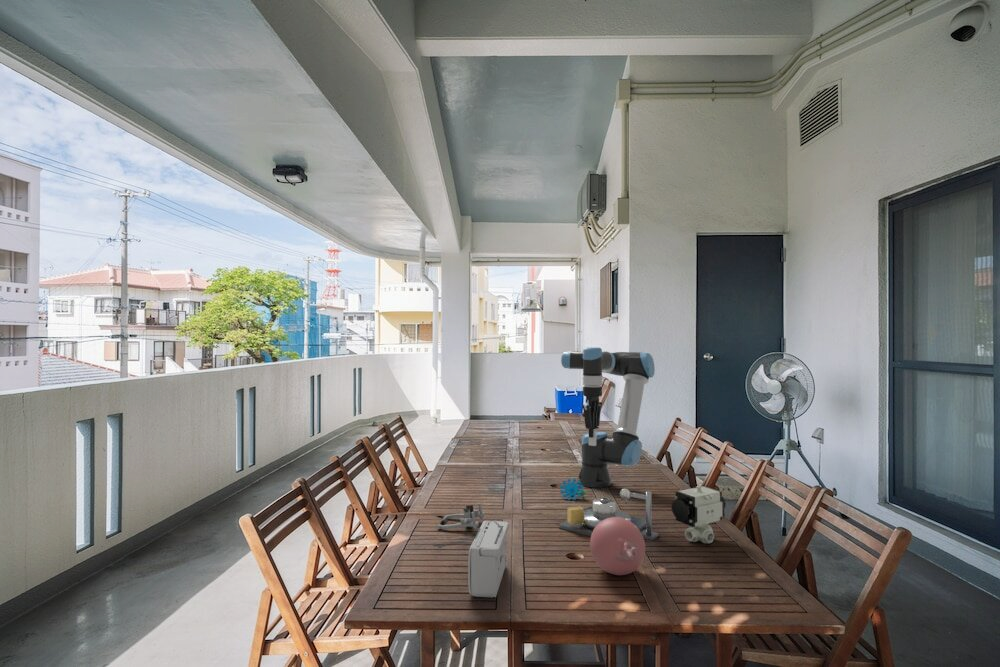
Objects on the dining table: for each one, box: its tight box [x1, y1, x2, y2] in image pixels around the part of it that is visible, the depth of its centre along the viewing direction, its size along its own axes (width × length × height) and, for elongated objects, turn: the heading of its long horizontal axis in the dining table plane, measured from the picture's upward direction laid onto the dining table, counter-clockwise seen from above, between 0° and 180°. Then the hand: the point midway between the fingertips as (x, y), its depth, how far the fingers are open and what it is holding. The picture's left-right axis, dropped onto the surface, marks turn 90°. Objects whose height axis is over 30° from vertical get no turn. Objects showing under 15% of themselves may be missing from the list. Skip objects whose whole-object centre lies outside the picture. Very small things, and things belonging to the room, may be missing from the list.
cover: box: [592, 497, 617, 520], centre depth 181 cm, size 8×8×6 cm
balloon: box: [589, 517, 646, 576], centre depth 143 cm, size 15×20×15 cm
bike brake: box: [437, 502, 485, 530], centre depth 182 cm, size 14×7×20 cm
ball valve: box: [671, 485, 726, 544], centre depth 168 cm, size 18×8×18 cm, turn 117°
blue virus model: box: [559, 477, 587, 501], centre depth 214 cm, size 11×6×10 cm
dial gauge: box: [619, 488, 659, 541], centre depth 174 cm, size 5×12×15 cm, turn 53°
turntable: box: [566, 505, 631, 529], centre depth 180 cm, size 18×23×6 cm
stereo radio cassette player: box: [467, 519, 510, 598], centre depth 140 cm, size 21×8×20 cm, turn 171°
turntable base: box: [558, 506, 646, 537], centre depth 181 cm, size 24×24×1 cm
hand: (592, 445), depth 202 cm, fingers closed
